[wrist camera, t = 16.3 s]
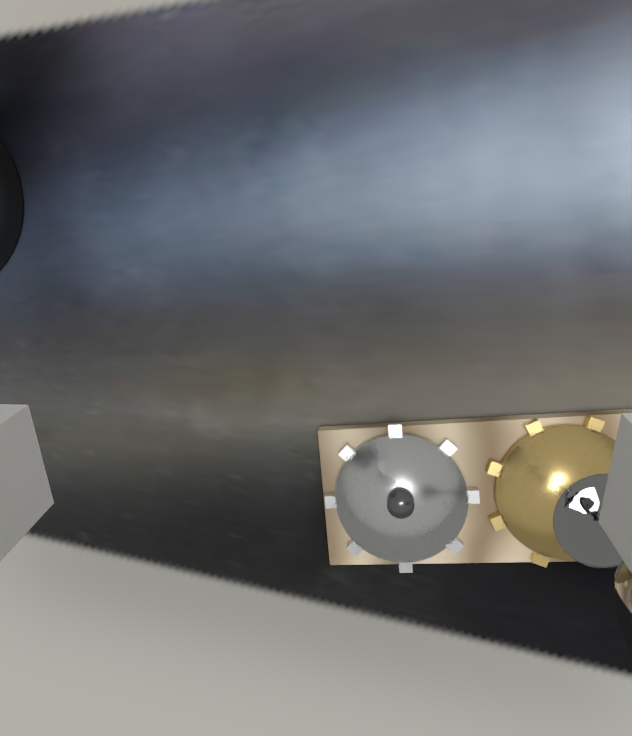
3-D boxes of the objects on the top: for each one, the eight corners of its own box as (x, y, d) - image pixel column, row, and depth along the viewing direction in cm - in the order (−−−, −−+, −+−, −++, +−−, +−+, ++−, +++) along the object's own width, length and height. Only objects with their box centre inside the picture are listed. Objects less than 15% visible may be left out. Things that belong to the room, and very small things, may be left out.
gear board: (332, 559, 43) (327, 581, 39) (319, 423, 42) (313, 433, 38) (645, 554, 39) (669, 578, 35) (640, 404, 38) (665, 413, 34)
